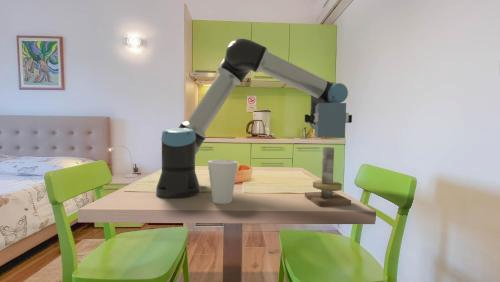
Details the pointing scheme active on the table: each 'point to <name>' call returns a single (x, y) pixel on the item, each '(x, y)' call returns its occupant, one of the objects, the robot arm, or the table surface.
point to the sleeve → (330, 120)
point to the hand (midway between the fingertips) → (332, 117)
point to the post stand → (327, 184)
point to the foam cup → (222, 180)
